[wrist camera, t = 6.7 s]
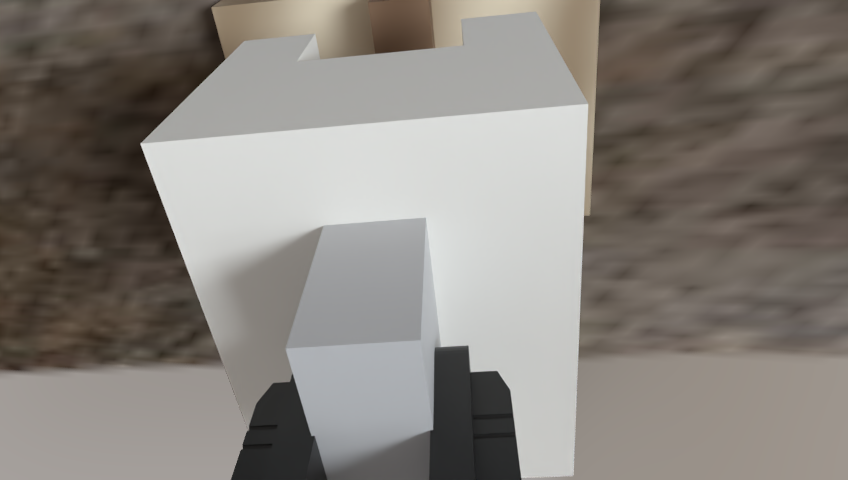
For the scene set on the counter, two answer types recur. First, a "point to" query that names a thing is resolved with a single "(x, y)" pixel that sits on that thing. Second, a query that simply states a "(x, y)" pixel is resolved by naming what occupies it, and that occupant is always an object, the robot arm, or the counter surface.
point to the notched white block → (388, 233)
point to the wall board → (358, 35)
